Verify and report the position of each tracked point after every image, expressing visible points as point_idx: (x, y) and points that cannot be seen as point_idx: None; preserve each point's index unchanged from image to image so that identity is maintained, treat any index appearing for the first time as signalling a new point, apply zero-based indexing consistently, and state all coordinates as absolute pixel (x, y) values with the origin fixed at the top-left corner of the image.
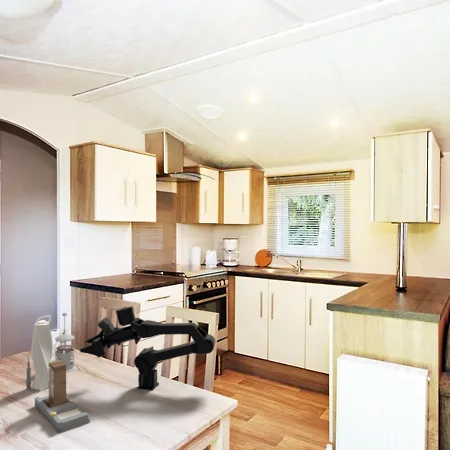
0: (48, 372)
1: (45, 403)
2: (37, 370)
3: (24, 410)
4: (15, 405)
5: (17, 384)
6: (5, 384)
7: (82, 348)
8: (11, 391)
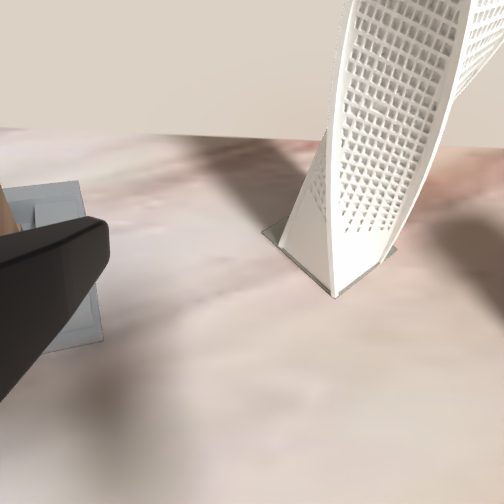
0: (328, 212)
1: None
2: (325, 148)
3: (67, 180)
4: (151, 160)
5: None
6: None
7: (29, 229)
8: None
